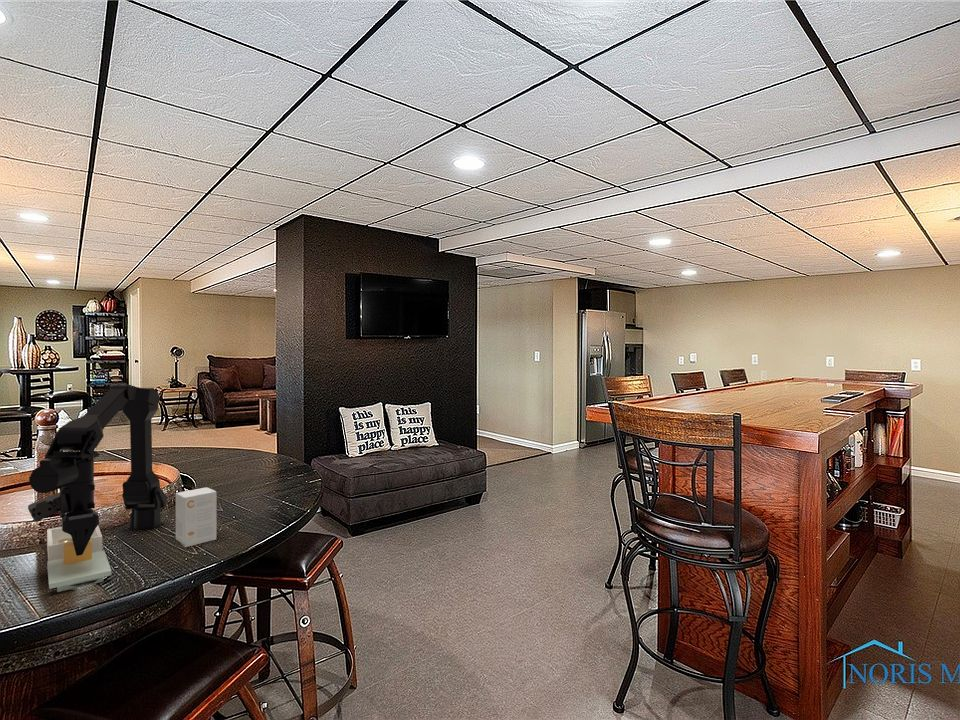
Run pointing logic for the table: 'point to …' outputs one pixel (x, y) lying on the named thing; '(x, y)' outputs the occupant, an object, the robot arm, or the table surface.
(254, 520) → the table surface
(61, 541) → the brass part
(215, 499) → the small box
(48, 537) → the tub
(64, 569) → the lid
